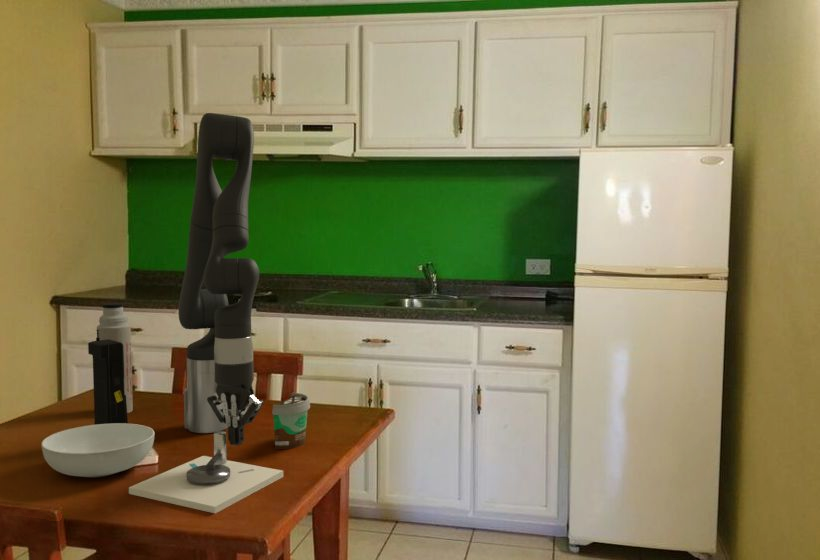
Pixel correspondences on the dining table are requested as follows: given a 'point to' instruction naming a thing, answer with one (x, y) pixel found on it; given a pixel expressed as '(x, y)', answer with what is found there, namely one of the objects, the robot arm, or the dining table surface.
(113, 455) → the serving bowl
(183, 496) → the dial plate
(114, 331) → the thermos bottle
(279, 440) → the food container
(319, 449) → the dining table surface
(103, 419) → the portable radio
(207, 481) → the dial
